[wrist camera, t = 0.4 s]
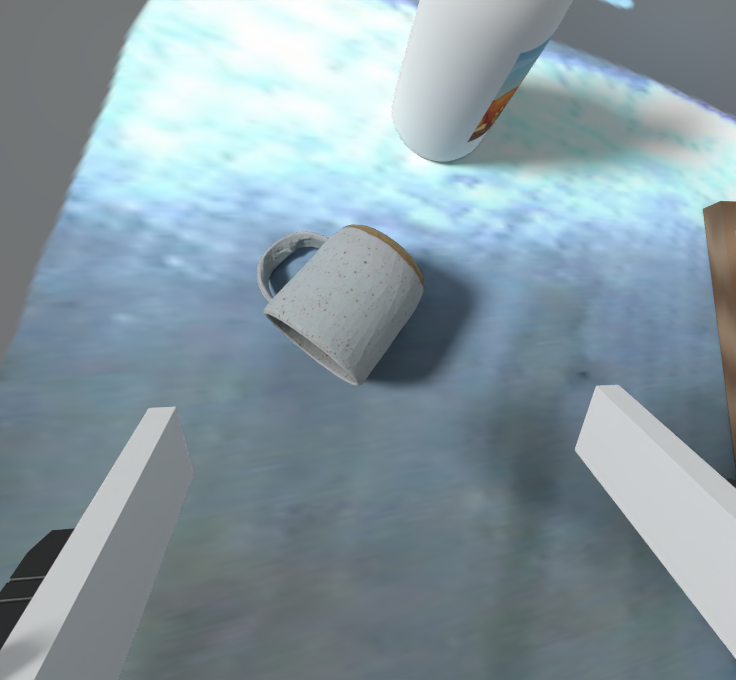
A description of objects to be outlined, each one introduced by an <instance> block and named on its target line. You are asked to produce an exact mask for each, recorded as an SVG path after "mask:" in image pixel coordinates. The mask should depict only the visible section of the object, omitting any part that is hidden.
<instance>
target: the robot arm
mask: <svg viewBox="0 0 736 680" xmlns="http://www.w3.org/2000/svg"><path fill="white" fill-rule="evenodd" d="M575 451H576V452H577V454H578V455H579V456H580V457H581V459H582V460H583V461H584V463H585V464H586V465H587V467H588V468H589V469H590V470H591V472H592V473H593V474H594V476H595V477H596V478H597V480H598V481H599V482H600V483H601V485H602V486H603V487H604V489H605V490H606V491H607V492H608V494H609V495H610V496H611V498H612V499H613V500H614V502H615V503H616V504H617V505H618V507H619V508H620V509H621V511H622V512H623V513H624V514H625V516H626V517H627V518H628V520H629V521H630V522H631V524H632V525H633V526H634V527H635V529H636V530H637V531H638V533H639V534H640V535H641V536H642V538H643V539H644V540H645V542H646V543H647V544H648V546H649V547H650V548H651V549H652V551H653V552H654V553H655V555H656V556H657V557H658V559H659V560H660V561H661V562H662V564H663V565H664V566H665V568H666V569H667V570H668V571H669V573H670V574H671V575H672V577H673V578H674V579H675V581H676V582H677V583H678V584H679V586H680V587H681V588H682V590H683V591H684V592H685V593H686V595H687V596H688V597H689V599H690V600H691V601H692V603H693V604H694V605H695V606H696V608H697V609H698V610H699V612H700V613H701V614H702V616H703V617H704V618H705V619H706V621H707V622H708V623H709V625H710V626H711V627H712V628H713V630H714V631H715V632H716V634H717V635H718V636H719V638H720V639H721V640H722V641H723V643H724V644H725V645H726V647H727V648H728V649H729V650H730V652H731V653H732V654H733V656H734V657H735V658H736V481H734V480H732V479H724V478H723V477H722V476H721V475H720V474H719V473H718V472H716V471H715V470H714V469H713V468H712V467H711V466H710V465H709V464H707V463H706V462H705V461H704V460H703V459H702V458H701V457H699V456H698V455H697V454H696V453H695V452H694V451H693V450H692V449H690V448H689V447H688V446H687V445H686V444H685V443H684V442H682V441H681V440H680V439H679V438H678V437H677V436H676V435H675V434H673V433H672V432H671V431H670V430H669V429H668V428H667V427H665V426H664V425H663V424H662V423H661V422H660V421H659V420H658V419H656V418H655V417H654V416H653V415H652V414H651V413H650V412H649V411H647V410H646V409H645V408H644V407H643V406H642V405H641V404H639V403H638V402H637V401H636V400H635V399H634V398H633V397H632V396H630V395H629V394H628V393H627V392H626V391H625V390H624V389H622V388H621V387H620V386H619V385H605V386H596V388H595V391H594V394H593V397H592V400H591V403H590V406H589V409H588V412H587V415H586V418H585V421H584V424H583V427H582V430H581V433H580V435H579V438H578V441H577V444H576V447H575ZM193 476H194V473H193V469H192V465H191V461H190V458H189V454H188V450H187V446H186V442H185V439H184V435H183V431H182V427H181V424H180V420H179V416H178V412H177V409H176V407H161V408H149V409H148V410H147V412H146V414H145V415H144V417H143V418H142V420H141V422H140V423H139V425H138V427H137V428H136V430H135V431H134V433H133V435H132V436H131V438H130V440H129V441H128V443H127V445H126V446H125V448H124V449H123V451H122V453H121V454H120V456H119V458H118V459H117V461H116V462H115V464H114V466H113V467H112V469H111V471H110V472H109V474H108V476H107V477H106V479H105V480H104V482H103V484H102V485H101V487H100V489H99V490H98V492H97V493H96V495H95V497H94V498H93V500H92V502H91V503H90V505H89V506H88V508H87V510H86V511H85V513H84V515H83V516H82V518H81V520H80V521H79V523H78V524H77V526H76V528H75V529H63V530H52V531H51V532H50V533H49V534H48V535H46V536H45V537H44V538H43V539H42V540H41V541H40V542H39V543H38V544H36V545H35V546H34V547H33V548H32V549H31V550H30V551H29V552H28V553H27V554H26V556H25V557H24V558H23V560H22V561H21V563H20V564H19V566H18V567H17V569H16V570H15V572H14V573H13V574H12V576H11V577H10V582H9V583H6V585H5V586H4V587H3V589H2V590H1V592H0V680H119V677H120V674H121V672H122V669H123V666H124V663H125V661H126V658H127V655H128V653H129V650H130V647H131V644H132V642H133V639H134V636H135V634H136V631H137V628H138V625H139V623H140V620H141V617H142V615H143V612H144V609H145V606H146V604H147V601H148V598H149V595H150V593H151V590H152V587H153V585H154V582H155V579H156V576H157V574H158V571H159V568H160V566H161V563H162V560H163V557H164V555H165V552H166V549H167V547H168V544H169V541H170V538H171V536H172V533H173V530H174V528H175V525H176V522H177V519H178V517H179V514H180V511H181V509H182V506H183V503H184V500H185V498H186V495H187V492H188V490H189V487H190V484H191V481H192V479H193Z"/></svg>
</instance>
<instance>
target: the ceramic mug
mask: <svg viewBox="0 0 736 680" xmlns="http://www.w3.org/2000/svg"><path fill="white" fill-rule="evenodd" d="M302 247H315V248H319V250H318V251H317V252H316V253H315V254H314V256H313V257H312V258H311V259H310V260H309V261H308V262H307V263H306V265H305V266H304V267H303V268H302V269H301V270H300V271H299V272H298V273H297V274H296V275H295V276H294V277H293V278H292V279H291V280H290V281H289V282H288V283H287V284H286V285H285V286H284V287H283V288H282V289H281V290H280V291H279V292H278V294H277V295H276V296H275V297H274V298H273V296H272V294H271V292H270V290H269V285H268V283H269V277H270V276H271V274H272V271H273V270H274V269H275V268H276V267H277V266H278V265H279V264H280V263H281V262H282V261H283V260H284V259H285V258H287V257H288V256H289V255H291V254H293V253H294V251H295V250H296V249H299V248H302ZM257 280H258V285H259V288H260V290H261V292H262V294H263V295H264V297H265V298H266V299H267V301H268V302H269V303H268V304H267V306H266V307H265V308H264V314H265V315H266V317H267V318H268V319H269V320H270V321H271V322H272V323H273V325H275V326H276V327H277V328H278V329H279V330H280V331H281V332H282V333H283V334H284V335H285V336H286V337H287V338H289V339H290V340H291V341H292V342H293V343H294V344H296V345H297V346H298V347H300V348H301V349H302V350H303V351H304V352H305V353H307V354H308V355H309V356H310V357H312V358H313V359H314V360H316V361H317V362H318V363H319V364H321V365H322V366H324V367H325V368H326V369H328V370H329V371H331V372H332V373H334V374H335V375H336V376H338V377H340V378H341V379H343V380H344V381H346V382H349V383H350V384H352V385H356V386H360V385H362V384H363V383H364V382H365V380H366V379H367V377H368V376H369V374H370V373H371V371H372V370H373V369H374V367H375V366H376V364H377V363H378V362H379V360H380V359H381V358H382V356H383V355H384V353H385V352H386V351H387V349H388V348H389V346H390V345H391V344H392V342H393V341H394V339H395V338H396V336H397V335H398V333H399V332H400V330H401V329H402V328H403V326H404V325H405V324H406V322H407V321H408V320H409V318H410V317H411V316H412V314H413V313H414V311H415V309H416V308H417V305H418V303H419V301H420V299H421V298H422V295H423V292H424V279H423V277H422V274H421V271H420V269H419V267H418V266H417V264H416V263H415V261H414V260H413V258H412V257H411V256H410V255H409V254H408V253H407V252H406V251H405V250H404V249H403V248H402V247H401V246H400V245H399V244H398V243H397V242H395V241H394V240H392V239H391V238H390V237H388V236H387V235H385V234H383V233H382V232H380V231H378V230H376V229H374V228H371V227H368V226H364V225H348V226H346V227H344V228H342V229H341V230H339V231H338V232H337V233H335V234H334V235H333V236H331V237H330V238H327V237H325V236H324V235H320V234H318V233H314V232H307V231H302V232H296V233H292V234H289V235H286V236H285V237H283V238H281V239H280V240H278V241H277V242H275V243H274V244H273V245H272V246H271V247H269V248H268V249H267V251H266V252H265V253H264V254H263V256H262V257H261V259H260V261H259V263H258V266H257Z"/></svg>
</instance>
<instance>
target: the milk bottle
mask: <svg viewBox="0 0 736 680" xmlns="http://www.w3.org/2000/svg"><path fill="white" fill-rule="evenodd" d="M571 2H572V0H420V2H419V5H418V9H417V12H416V16H415V19H414V23H413V26H412V30H411V33H410V37H409V41H408V44H407V48H406V52H405V55H404V59H403V62H402V66H401V70H400V73H399V77H398V81H397V85H396V88H395V92H394V97H393V102H392V118H393V123H394V126H395V129H396V131H397V133H398V135H399V137H400V139H401V140H402V141H403V142H404V144H405V145H406V146H407V147H408V148H409V149H410V150H412V151H413V152H414V153H416V154H418V155H419V156H421V157H423V158H426V159H428V160H433V161H451V160H456V159H459V158H461V157H464V156H466V155H467V154H469V153H470V152H472V151H473V150H474V149H475V148H476V147H477V146H478V144H479V143H480V142H481V140H482V139H483V138H484V136H485V135H486V134H487V132H488V131H489V129H490V128H491V126H492V125H493V123H494V122H495V120H496V119H497V118H498V116H499V115H500V113H501V112H502V110H503V109H504V107H505V106H506V104H507V103H508V101H509V100H510V99H511V97H512V96H513V94H514V93H515V91H516V90H517V88H518V87H519V85H520V84H521V82H522V81H523V79H524V78H525V76H526V75H527V73H528V72H529V70H530V69H531V67H532V66H533V64H534V63H535V61H536V60H537V59H538V57H539V56H540V54H541V53H542V51H543V50H544V48H545V46H546V45H547V43H548V42H549V40H550V38H551V37H552V35H553V33H554V32H555V30H556V29H557V27H558V26H559V24H560V22H561V21H562V19H563V18H564V15H565V14H566V12H567V10H568V8H569V6H570V4H571Z"/></svg>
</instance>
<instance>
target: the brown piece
mask: <svg viewBox="0 0 736 680" xmlns="http://www.w3.org/2000/svg"><path fill="white" fill-rule="evenodd" d="M703 213H704V221H705V229H706V237H707V245H708V253H709V261H710V268H711V276H712V284H713V292H714V300H715V308H716V316H717V324H718V331H719V339H720V347H721V355H722V363H723V371H724V379H725V386H726V394H727V402H728V410H729V418H730V426H731V434H732V441H733V449H734V457H735V465H736V202H733V201H720V202H717V203H715V204H713V205H711V206H709V207H706V208H704V209H703Z"/></svg>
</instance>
